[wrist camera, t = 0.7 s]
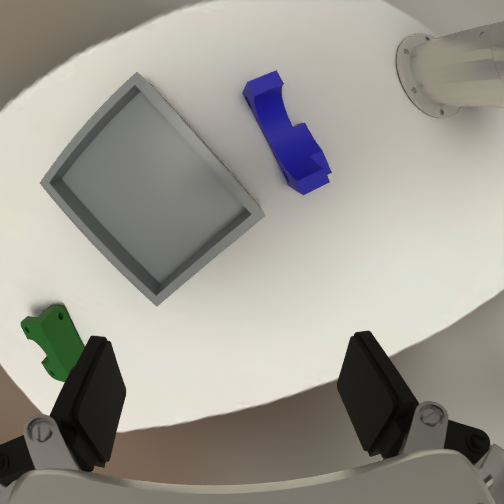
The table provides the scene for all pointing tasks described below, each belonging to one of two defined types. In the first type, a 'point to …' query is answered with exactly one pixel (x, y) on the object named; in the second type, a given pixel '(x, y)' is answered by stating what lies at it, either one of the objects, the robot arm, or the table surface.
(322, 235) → the table surface
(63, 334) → the clamp
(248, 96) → the blue long angular piece
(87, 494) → the robot arm
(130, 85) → the gray tray
